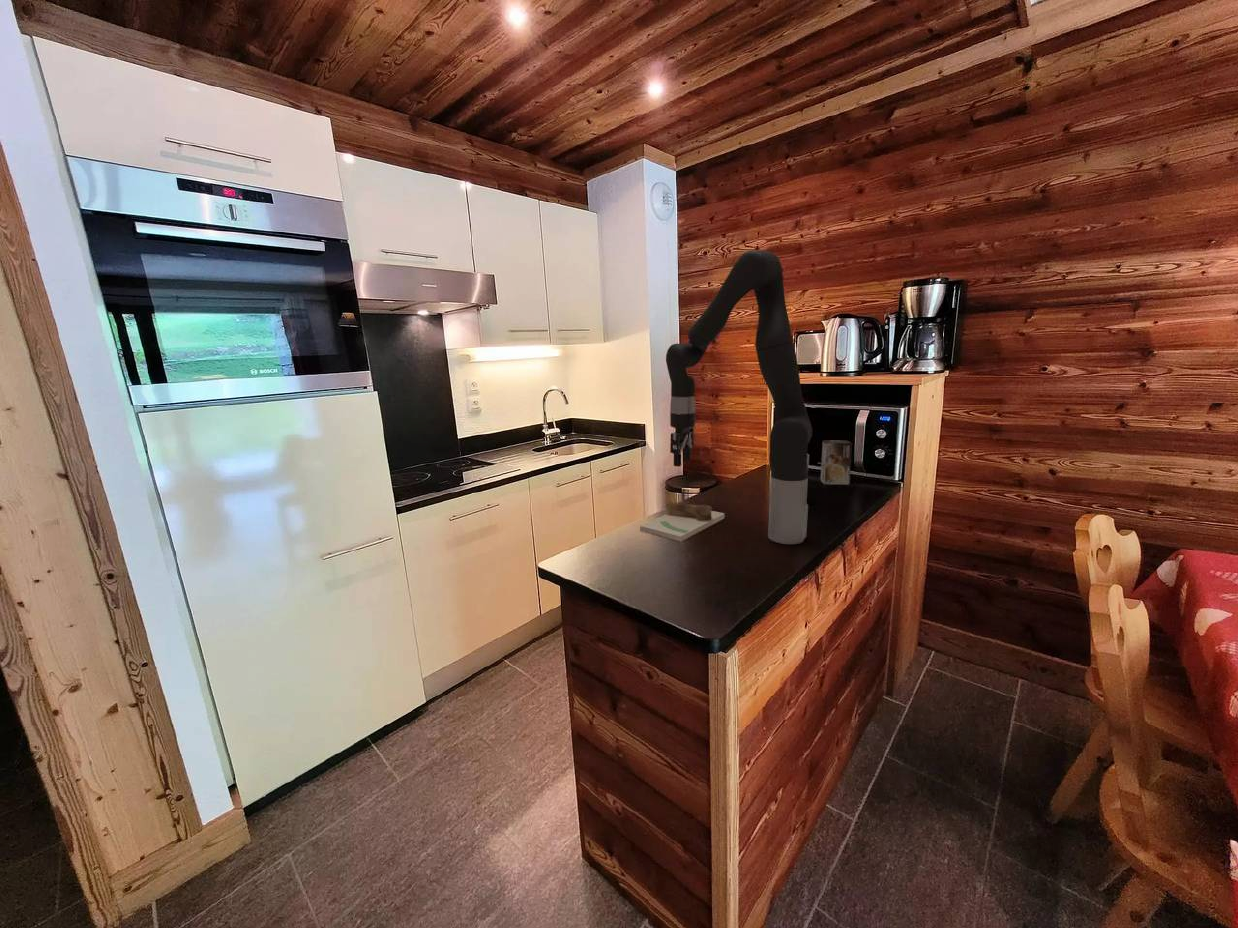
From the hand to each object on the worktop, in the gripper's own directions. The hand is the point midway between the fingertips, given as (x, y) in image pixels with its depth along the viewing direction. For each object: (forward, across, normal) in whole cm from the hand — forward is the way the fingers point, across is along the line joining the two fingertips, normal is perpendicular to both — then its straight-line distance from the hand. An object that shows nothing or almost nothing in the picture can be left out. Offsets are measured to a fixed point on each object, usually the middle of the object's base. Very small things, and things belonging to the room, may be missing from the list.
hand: (682, 463), depth 149 cm
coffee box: (+16, -57, +41) cm, 72 cm away
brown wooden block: (+15, +6, +5) cm, 17 cm away
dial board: (+16, +9, +4) cm, 19 cm away
